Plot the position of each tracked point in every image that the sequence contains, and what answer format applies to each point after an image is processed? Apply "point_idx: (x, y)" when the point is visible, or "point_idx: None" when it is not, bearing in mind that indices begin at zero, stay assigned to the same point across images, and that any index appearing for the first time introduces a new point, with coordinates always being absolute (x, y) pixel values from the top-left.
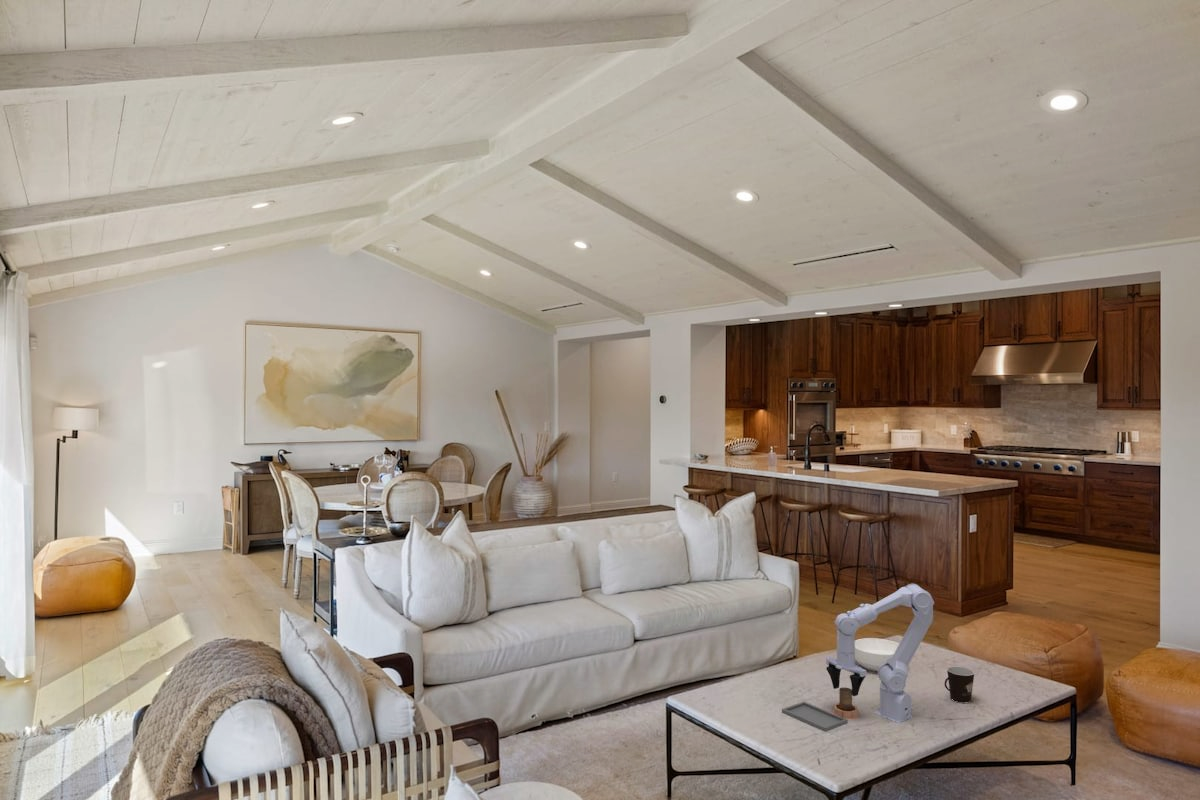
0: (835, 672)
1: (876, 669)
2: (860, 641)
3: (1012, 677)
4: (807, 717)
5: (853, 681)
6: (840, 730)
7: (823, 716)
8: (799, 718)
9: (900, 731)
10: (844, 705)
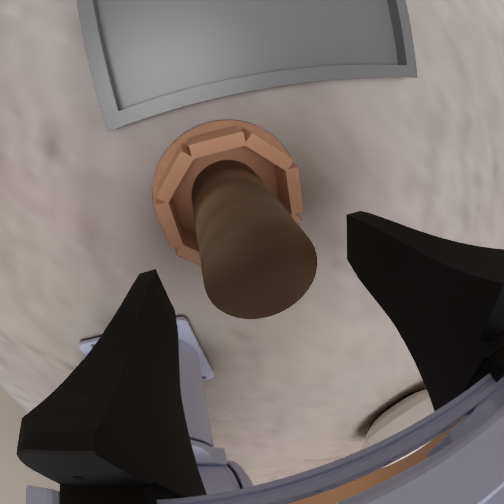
0: (445, 321)
1: (392, 410)
2: None
3: None
4: None
5: (76, 389)
6: (65, 49)
7: (241, 42)
8: None
9: (20, 310)
10: (209, 189)
